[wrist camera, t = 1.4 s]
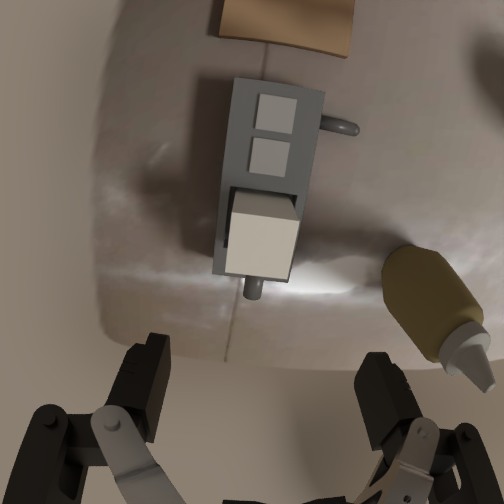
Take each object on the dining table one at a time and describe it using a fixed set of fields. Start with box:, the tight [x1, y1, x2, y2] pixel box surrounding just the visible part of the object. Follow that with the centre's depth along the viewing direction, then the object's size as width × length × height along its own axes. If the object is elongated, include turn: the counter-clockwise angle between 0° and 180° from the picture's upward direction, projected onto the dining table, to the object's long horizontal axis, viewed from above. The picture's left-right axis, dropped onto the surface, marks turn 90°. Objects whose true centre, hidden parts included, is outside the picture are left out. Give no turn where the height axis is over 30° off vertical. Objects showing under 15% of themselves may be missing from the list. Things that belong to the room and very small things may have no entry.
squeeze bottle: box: [382, 245, 496, 393], centre depth 23 cm, size 8×8×18 cm
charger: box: [225, 187, 300, 300], centre depth 24 cm, size 7×4×7 cm, turn 172°
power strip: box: [212, 77, 360, 283], centre depth 25 cm, size 17×11×4 cm, turn 172°
